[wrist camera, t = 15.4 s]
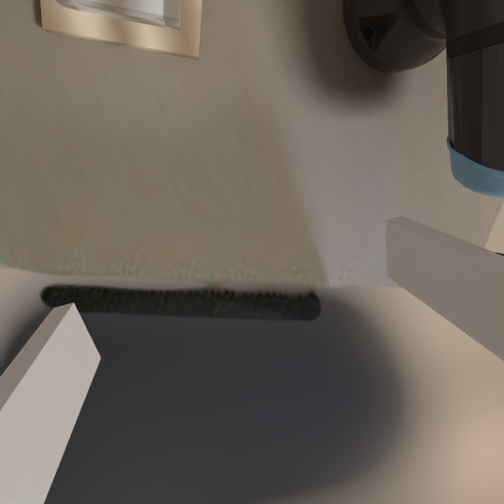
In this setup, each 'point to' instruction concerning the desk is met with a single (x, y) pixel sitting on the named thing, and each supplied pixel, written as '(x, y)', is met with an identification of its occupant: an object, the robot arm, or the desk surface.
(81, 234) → the desk surface
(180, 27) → the collar block
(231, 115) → the desk surface
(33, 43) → the desk surface
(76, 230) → the desk surface
